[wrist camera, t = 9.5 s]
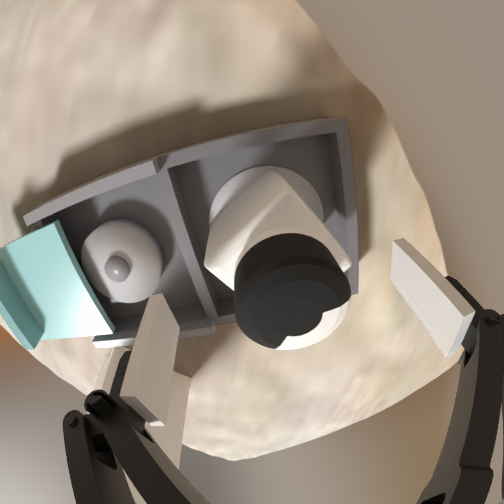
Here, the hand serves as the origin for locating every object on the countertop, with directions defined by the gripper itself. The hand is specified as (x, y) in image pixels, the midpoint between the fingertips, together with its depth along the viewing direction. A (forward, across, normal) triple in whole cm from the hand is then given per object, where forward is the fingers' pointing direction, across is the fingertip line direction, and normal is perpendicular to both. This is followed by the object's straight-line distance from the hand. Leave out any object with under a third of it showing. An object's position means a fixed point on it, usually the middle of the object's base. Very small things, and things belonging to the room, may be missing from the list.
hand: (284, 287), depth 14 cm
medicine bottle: (+10, 0, -1) cm, 10 cm away
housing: (+11, -6, -1) cm, 13 cm away
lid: (+7, -24, -1) cm, 25 cm away
